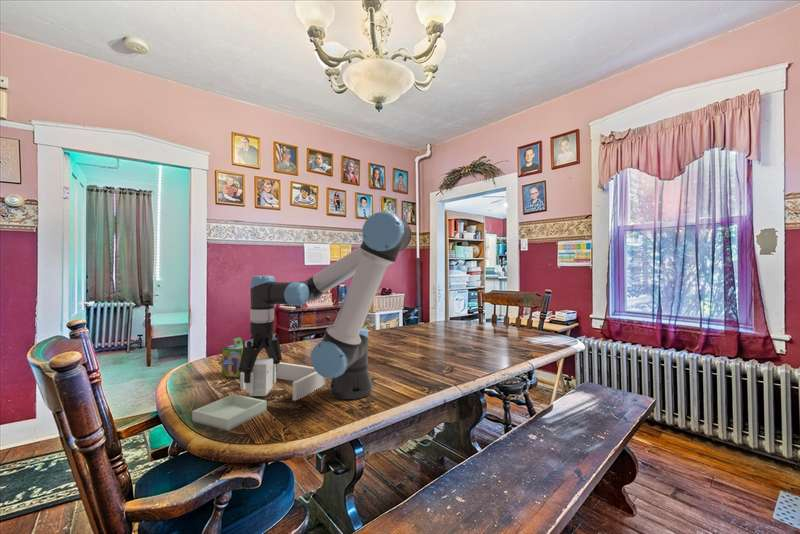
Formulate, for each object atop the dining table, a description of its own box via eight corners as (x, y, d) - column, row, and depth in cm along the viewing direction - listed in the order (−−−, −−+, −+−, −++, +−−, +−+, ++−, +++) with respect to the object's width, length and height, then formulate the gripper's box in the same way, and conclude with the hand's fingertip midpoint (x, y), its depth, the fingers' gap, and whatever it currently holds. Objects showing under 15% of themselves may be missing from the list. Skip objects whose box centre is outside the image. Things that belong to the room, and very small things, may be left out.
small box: (256, 387, 116) (257, 357, 116) (273, 387, 117) (273, 357, 117) (248, 396, 108) (248, 364, 108) (265, 396, 109) (266, 364, 109)
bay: (325, 384, 126) (325, 368, 126) (296, 400, 110) (296, 382, 110) (273, 375, 135) (273, 361, 135) (240, 389, 120) (240, 372, 120)
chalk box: (241, 378, 131) (241, 341, 131) (221, 376, 133) (221, 340, 133) (255, 371, 140) (256, 336, 140) (236, 369, 142) (237, 335, 142)
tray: (266, 410, 103) (266, 400, 103) (227, 431, 90) (228, 419, 90) (233, 402, 108) (233, 393, 108) (192, 421, 95) (192, 410, 95)
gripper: (277, 315, 124) (276, 375, 124) (226, 325, 104) (225, 396, 104) (293, 317, 121) (292, 378, 121) (243, 327, 101) (242, 400, 101)
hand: (261, 387), depth 113 cm, fingers closed on small box, 9 cm apart
